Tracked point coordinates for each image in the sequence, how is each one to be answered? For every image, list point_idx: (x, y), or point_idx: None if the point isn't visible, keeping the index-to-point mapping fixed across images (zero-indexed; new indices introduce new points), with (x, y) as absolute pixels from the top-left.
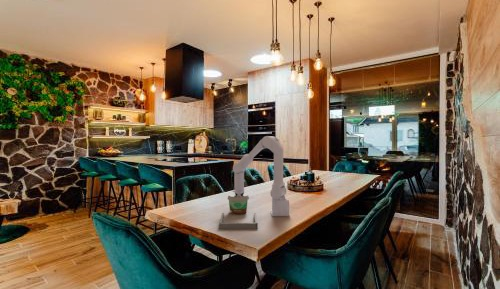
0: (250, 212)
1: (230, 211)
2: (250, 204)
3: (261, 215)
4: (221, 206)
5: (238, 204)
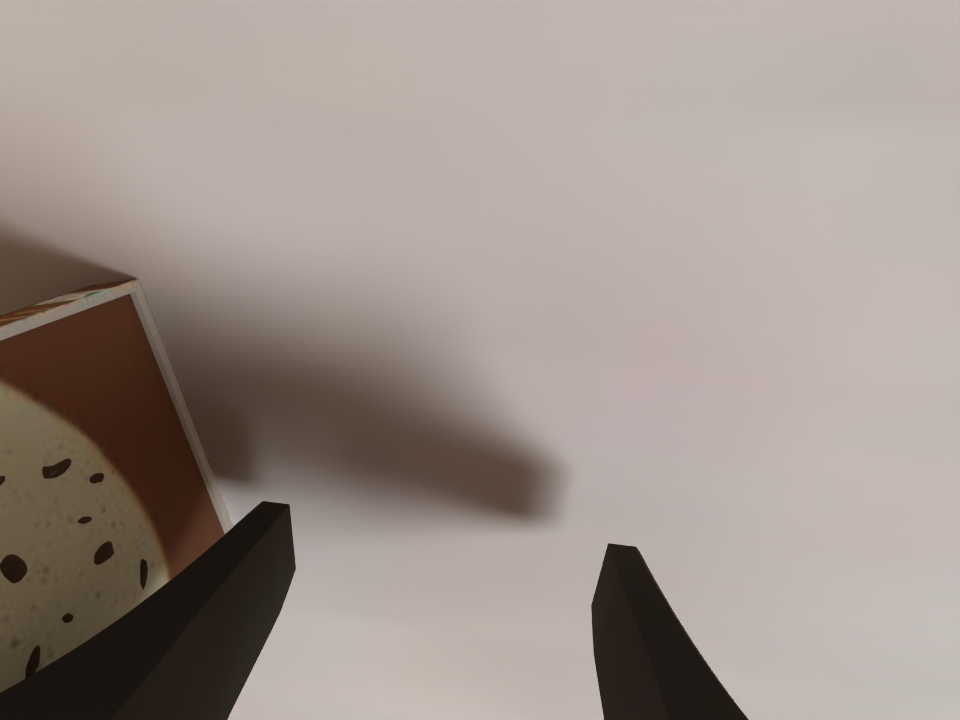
0: None
1: (48, 300)
2: (765, 709)
3: None
4: (865, 11)
5: None
